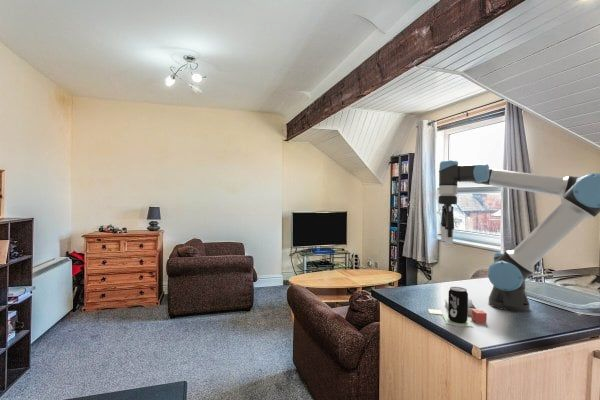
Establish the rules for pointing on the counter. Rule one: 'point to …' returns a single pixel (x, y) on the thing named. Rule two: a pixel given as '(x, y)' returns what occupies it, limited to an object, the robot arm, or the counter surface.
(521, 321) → the counter surface
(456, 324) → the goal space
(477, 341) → the counter surface
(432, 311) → the track space
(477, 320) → the red die
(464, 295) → the beverage can
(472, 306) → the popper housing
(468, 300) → the dome
